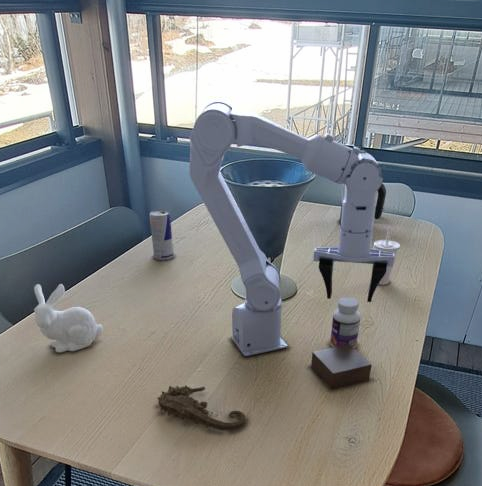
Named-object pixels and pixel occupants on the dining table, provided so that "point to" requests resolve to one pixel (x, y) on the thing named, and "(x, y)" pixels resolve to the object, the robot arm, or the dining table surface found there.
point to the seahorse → (194, 408)
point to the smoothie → (387, 247)
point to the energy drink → (161, 234)
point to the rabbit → (65, 323)
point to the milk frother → (378, 205)
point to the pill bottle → (345, 323)
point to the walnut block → (340, 366)
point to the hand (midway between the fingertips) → (349, 298)
